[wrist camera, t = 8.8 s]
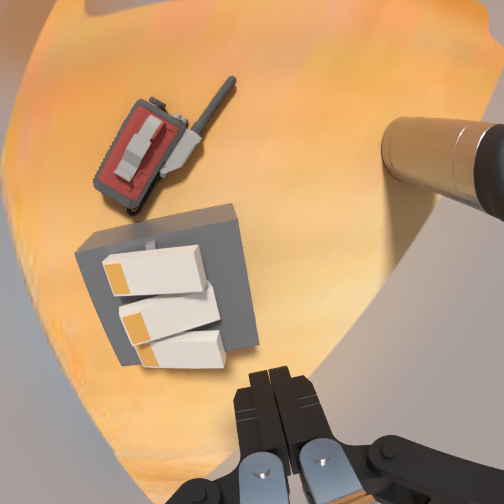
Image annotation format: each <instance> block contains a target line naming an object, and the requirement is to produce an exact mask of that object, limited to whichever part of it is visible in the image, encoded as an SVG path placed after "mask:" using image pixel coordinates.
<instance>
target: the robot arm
mask: <svg viewBox="0 0 504 504" xmlns="http://www.w3.org/2000/svg"><path fill="white" fill-rule="evenodd" d="M382 157H383V160H384V163H385V166H386V167H387V169H388V171H389V172H390V173H391V174H392V175H393V176H394V177H396V178H397V179H399V180H402V181H404V182H407V183H410V184H413V185H415V186H418V187H421V188H424V189H426V190H429V191H432V192H435V193H437V194H440V195H442V196H445V197H448V198H450V199H453V200H455V201H458V202H460V203H463V204H465V205H468V206H470V207H473V208H475V209H477V210H480V211H482V212H484V213H487V214H489V215H491V216H493V217H496V218H498V219H500V220H502V221H503V222H504V124H497V123H488V122H479V121H469V120H457V119H444V118H425V117H401V118H398V119H396V120H395V121H393V122H392V123H391V124H390V125H389V126H388V128H387V129H386V131H385V133H384V136H383V140H382ZM268 371H269V376H268V372H267V370H264V371H259V372H255V373H250V374H249V380H250V385H251V387H247V388H242V389H237V392H236V395H235V397H234V400H233V401H234V409H235V417H236V424H237V432H238V439H239V447H240V454H241V457H240V461H239V464H238V466H237V467H236V468H235V470H233V471H232V472H231V473H230V474H228V475H226V476H224V477H221V478H219V479H216V480H214V481H210V480H207V479H203V478H196V479H191V480H189V481H187V482H185V483H184V484H182V485H181V486H180V488H179V489H178V490H177V491H176V492H175V493H174V494H173V495H172V497H171V498H170V499H169V500H168V501H167V502H166V503H165V504H290V500H289V494H290V489H289V484H288V478H287V476H289V475H291V470H290V464H291V469H292V472H293V474H298V473H299V475H300V478H301V482H302V487H303V492H304V495H305V497H306V500H307V502H308V504H377V502H379V503H381V504H504V470H500V469H496V468H493V467H489V466H485V465H481V464H478V463H475V462H472V461H468V460H465V459H462V458H458V457H455V456H452V455H449V454H446V453H443V452H440V451H437V450H435V449H432V448H429V447H426V446H423V445H421V444H418V443H415V442H412V441H410V440H407V439H405V438H402V437H399V436H395V435H387V436H383V437H381V438H379V439H377V440H376V441H375V442H374V443H373V444H372V445H359V446H352V445H346V444H343V443H341V442H340V441H338V440H337V439H336V438H335V437H334V436H333V434H332V432H331V429H330V427H329V424H328V422H327V419H326V417H325V414H324V412H323V409H322V407H321V404H320V402H319V399H318V397H317V395H316V392H315V389H314V387H313V384H312V383H311V382H310V381H309V380H308V379H307V378H306V377H305V376H304V375H302V376H298V377H293V378H291V376H290V373H289V370H288V367H287V366H282V367H278V368H273V369H269V370H268ZM269 377H270V380H269ZM270 382H271V384H270ZM288 457H289V458H288ZM289 461H290V464H289ZM376 501H377V502H376Z"/></svg>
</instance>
